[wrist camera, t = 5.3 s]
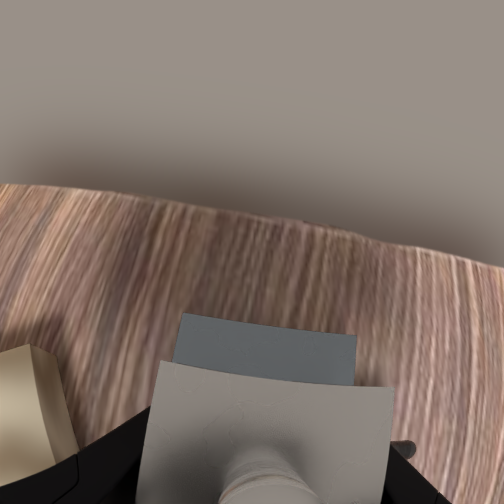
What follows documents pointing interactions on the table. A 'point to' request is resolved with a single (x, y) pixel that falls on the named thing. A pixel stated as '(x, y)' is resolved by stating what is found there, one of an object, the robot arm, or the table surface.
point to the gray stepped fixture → (270, 354)
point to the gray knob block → (262, 440)
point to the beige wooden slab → (32, 414)
